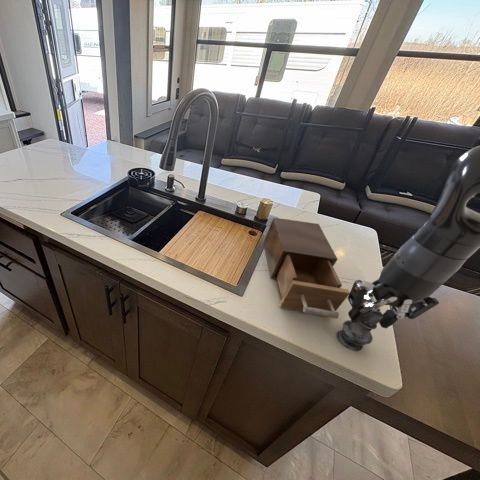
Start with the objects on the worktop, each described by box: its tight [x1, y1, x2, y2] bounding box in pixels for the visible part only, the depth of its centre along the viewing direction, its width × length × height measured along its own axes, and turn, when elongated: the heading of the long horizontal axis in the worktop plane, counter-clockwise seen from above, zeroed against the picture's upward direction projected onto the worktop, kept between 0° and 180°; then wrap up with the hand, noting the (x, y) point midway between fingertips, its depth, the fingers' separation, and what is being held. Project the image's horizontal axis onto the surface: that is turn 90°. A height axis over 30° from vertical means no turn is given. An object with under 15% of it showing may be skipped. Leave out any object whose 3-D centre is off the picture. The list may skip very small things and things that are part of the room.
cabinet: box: [262, 217, 338, 280], centre depth 76 cm, size 17×14×11 cm
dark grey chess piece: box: [336, 307, 383, 352], centre depth 55 cm, size 6×6×12 cm
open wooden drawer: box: [276, 253, 350, 319], centre depth 65 cm, size 20×12×9 cm, turn 169°
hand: (367, 321), depth 55 cm, fingers open, 5 cm apart
